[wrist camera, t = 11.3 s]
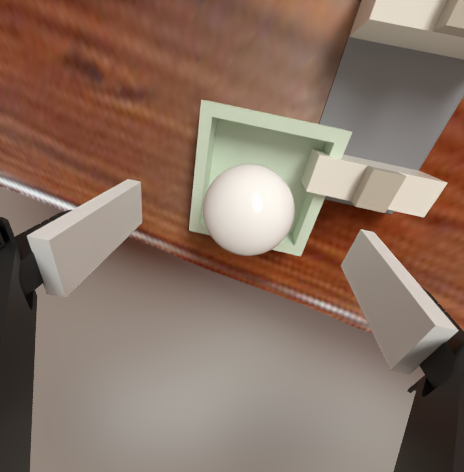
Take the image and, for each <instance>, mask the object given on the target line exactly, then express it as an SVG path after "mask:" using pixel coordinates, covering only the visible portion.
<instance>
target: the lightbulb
mask: <svg viewBox="0 0 464 472" xmlns="http://www.w3.org/2000/svg"><path fill="white" fill-rule="evenodd" d="M294 213H295V206H294V199H293V195H292V192H291V190H290V188H289V186H288V185H287V183H286V182H285V180H284V179H283V178H282V177H281V176H280V175H279V174H278V173H276V172H275V171H273V170H272V169H270V168H268V167H265V166H263V165H259V164H250V163H248V164H240V165H236V166H233V167H230V168H228V169H226V170H225V171H223V172H222V173H220V174H219V175H218V176H217V177H216V178H215V179H214V180H213V182H212V183H211V184H210V186H209V188H208V190H207V192H206V194H205V197H204V202H203V218H204V222H205V225H206V228H207V230H208V232H209V234H210V235H211V237H212V238H213V240H214V241H215V242H216V243H217V244H218V245H220V246H221V247H222V248H224V249H225V250H227V251H229V252H231V253H234V254H238V255H243V256H253V255H259V254H263V253H265V252H268V251H270V250H271V249H273V248H275V247H276V246H277V245H279V244H280V243H281V242H282V241H283V240H284V238H285V237H286V236H287V234H288V232H289V231H290V229H291V226H292V223H293V220H294Z"/></svg>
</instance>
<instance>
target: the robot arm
mask: <svg viewBox="0 0 464 472" xmlns="http://www.w3.org/2000/svg"><path fill="white" fill-rule="evenodd" d="M141 223H142V202H141V182H139V181H135V180H130V179H127V180H126V181H124V182H122V183H120V184H118V185H117V186H115V187H113V188H111V189H109V190H108V191H106V192H104V193H102V194H100V195H99V196H97V197H95V198H93V199H92V200H90V201H88V202H86V203H84V204H83V205H81V206H79V207H77V208H75V209H74V210H68V211H65V212H61V213H58V214H57V215H55V216H53V217H51V218H49V220H45V221H43V222H42V223H41V224H38V225H36V226H34V227H32V228H31V229H29V230H27V231H25V232H23V233H21V234H19V235H17V236H16V237H14V235H13V232H12V229H11V227H10V224H9V221H8V220H7V219H5V218H3V217H0V472H30V449H31V427H32V403H33V402H32V401H33V380H34V356H35V332H36V309H37V295H36V292H35V289H36V288H37V287H39V286H40V285H41V284H42V283H43V284H44V287H45V290H46V293H47V294H50V295H55V296H59V297H63V298H66V297H67V296H68V295H69V294H70V293H71V292H72V291H73V290H74V289H75V288H76V287H77V286H78V285H79V284H80V283H81V282H82V281H83V280H84V279H85V278H86V277H87V276H88V275H89V274H90V273H91V272H92V271H93V270H94V269H96V268H97V267H98V266H99V265H100V264H101V263H102V262H103V261H104V260H105V259H106V258H107V257H108V256H109V255H110V254H111V253H112V252H113V251H114V250H115V249H116V248H117V247H118V246H119V245H120V244H121V243H122V242H123V241H124V240H125V239H126V238H127V237H128V236H129V235H130V234H131V233H132V232H133V231H134V230H135V229H136V228H137V227H138V226H139V225H140V224H141ZM341 268H342V270H343V272H344V274H345V276H346V278H347V280H348V282H349V285H350V287H351V289H352V291H353V293H354V295H355V297H356V299H357V301H358V303H359V305H360V308H361V310H362V312H363V314H364V316H365V318H366V320H367V322H368V324H369V326H370V328H371V331H372V333H373V335H374V337H375V339H376V341H377V343H378V345H379V347H380V349H381V351H382V354H383V356H384V358H385V360H386V362H387V364H388V366H389V368H390V370H392V371H396V372H401V373H406V374H411V373H412V372H413V371H414V370H415V369H416V368H417V367H418V366H420V367H421V368H422V370H423V372H424V373H425V375H424V376H423V377H422V378H421V379H420V380H418V382H416V383H415V384H414V385H413V386H411V387H410V388H409V389H408V391H409V392H410V393H411V392H412V391H414V390H415V391H416V394H415V397H414V401H413V405H412V408H411V412H410V415H409V419H408V422H407V426H406V429H405V433H404V437H403V440H402V444H401V447H400V452H399V454H398V458H397V462H396V465H395V469H394V472H464V331H463V330H462V329H461V328H460V327H459V326H458V325H457V323H456V322H455V321H454V320H453V319H452V318H451V317H450V315H449V314H448V313H447V312H445V310H444V309H443V308H442V306H441V305H440V304H438V302H437V301H436V300H435V298H434V297H433V296H432V295H431V294H430V293H429V292H428V291H426V290H425V289H424V288H423V287H421V286H420V285H419V284H418V283H417V282H416V281H415V279H414V278H413V277H412V276H411V275H410V274H409V272H408V271H407V270H406V269H405V268H404V267H403V265H402V264H401V263H400V262H399V261H398V260H397V258H396V257H395V256H394V255H393V254H392V253H391V252H390V250H389V249H388V248H387V247H386V246H385V245H384V243H383V242H382V241H381V240H380V239H379V238H378V236H377V235H376V234H375V233H374V232H371V231H366V230H362V229H361V230H360V232H359V233H358V235H357V237H356V239H355V241H354V242H353V244H352V246H351V248H350V250H349V251H348V253H347V255H346V257H345V259H344V261H343V262H342V264H341Z"/></svg>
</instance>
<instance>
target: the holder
mask: <svg viewBox="0 0 464 472" xmlns="http://www.w3.org/2000/svg"><path fill="white" fill-rule="evenodd" d="M463 96H464V0H361V3H360V5H359V8H358V11H357V14H356V17H355V20H354V23H353V26H352V29H351V32H350V35H349V38H348V41H347V44H346V47H345V49H344V52H343V55H342V58H341V61H340V64H339V67H338V70H337V73H336V76H335V79H334V82H333V85H332V88H331V90H330V93H329V96H328V99H327V102H326V105H325V108H324V111H323V114H322V117H321V120H320V123H319V124H321V125H326V126H331V127H335V128H340V129H344V130H347V131H351V132H352V135H351V137H350V139H349V142H348V144H347V147H346V149H345V151H344V154H343V156H342V158H337V157H333V156H329V155H328V154H326V153H325V152H324V151H322V150H317V149H312V151H311V153H310V156H309V159H308V162H307V165H306V168H305V171H304V174H303V177H302V180H301V181H302V183H303V185H304V188H305V190H306V191H307V192H311V193H316V194H320V195H325V196H326V197H325V199H326V200H330V201H335V202H339V203H344V204H348V205H353V206H355V207H360V208H364V209H369V210H373V211H378V212H382V213H389V214H393V212H394V211H397V212H402V213H406V214H411V215H415V216H420V217H425V215H426V214H427V212H428V211H429V209H430V208H431V206H432V205H433V204H434V202H435V201H436V199H437V198H438V196H439V195H440V193H441V192H442V190H443V189H444V188H445V186H446V185H447V182H444V181H442V180H440V179H437V178H435V177H432V176H430V175H428V174H425V173H423V172H421V171H418V170H419V169H420V167H421V165H422V164H423V162H424V160H425V159H426V157H427V155H428V154H429V152H430V151H431V149H432V147H433V146H434V144H435V142H436V141H437V139H438V137H439V136H440V134H441V132H442V131H443V129H444V127H445V126H446V124H447V122H448V121H449V119H450V117H451V116H452V114H453V112H454V111H455V109H456V107H457V106H458V104H459V102H460V101H461V99H462V97H463Z"/></svg>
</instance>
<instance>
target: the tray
mask: <svg viewBox="0 0 464 472" xmlns="http://www.w3.org/2000/svg"><path fill="white" fill-rule="evenodd" d="M351 135H352V132H351V131H347V130H344V129H340V128H335V127H331V126H326V125H321V124H317V123H312V122H307V121H302V120H298V119H293V118H288V117H283V116H279V115H274V114H269V113H265V112H260V111H255V110H250V109H246V108H241V107H236V106H232V105H227V104H222V103H217V102H213V101H206V100H201V108H200V118H199V129H198V140H197V150H196V161H195V171H194V182H193V192H192V203H191V214H190V224H189V231H193V232H197V233H202V234H206V235H210V234H209V232H208V230H207V228H206V225H205V222H204V218H203V202H204V197H205V194H206V192H207V190H208V188H209V186H210V184H211V183H212V182H213V180H214V179H215V178H216V177H217V176H218V175H219V174H220V173H222V172H223V171H225V170H226V169H228V168H230V167H233V166H236V165H240V164H248V163H250V164H259V165H263V166H265V167H268V168H270V169H272V170H273V171H275V172H276V173H278V174H279V175H280V176H281V177H282V178H283V179H284V180H285V182H286V183H287V185H288V186H289V188H290V190H291V192H292V195H293V199H294V206H295V213H294V220H293V223H292V226H291V229H290V231H289V232H288V234H287V236H286V237H285V238H284V240H283V241H282V242H281V243H280V244H279V245H277V246H276V247H275V248H273V249H271V250H275V251H280V252H284V253H288V254H293V255H297V256H301V254H302V252H303V250H304V247H305V245H306V242H307V240H308V238H309V235H310V233H311V230H312V228H313V226H314V223H315V221H316V218H317V216H318V214H319V211H320V209H321V206H322V204H323V202H324V199H325V197H326V196H325V195H320V194H316V193H311V192H307V191H306V190H305V188H304V185H303V183H302V181H301V180H302V177H303V174H304V171H305V168H306V165H307V162H308V159H309V156H310V153H311V151H312V149H317V150H322V151H324V152H325V153H326V154H328V155H329V156H333V157H337V158H342V156H343V154H344V151H345V149H346V147H347V144H348V142H349V139H350V137H351ZM210 236H211V235H210Z"/></svg>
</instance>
